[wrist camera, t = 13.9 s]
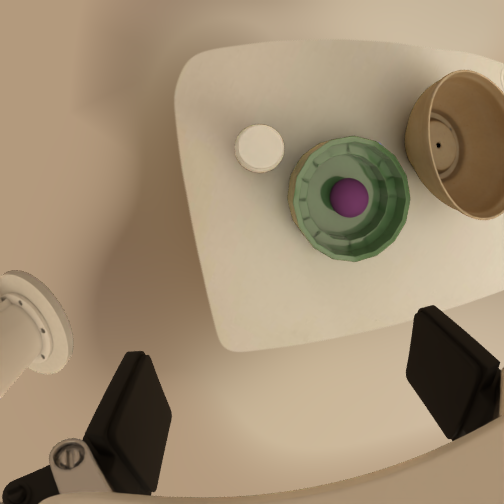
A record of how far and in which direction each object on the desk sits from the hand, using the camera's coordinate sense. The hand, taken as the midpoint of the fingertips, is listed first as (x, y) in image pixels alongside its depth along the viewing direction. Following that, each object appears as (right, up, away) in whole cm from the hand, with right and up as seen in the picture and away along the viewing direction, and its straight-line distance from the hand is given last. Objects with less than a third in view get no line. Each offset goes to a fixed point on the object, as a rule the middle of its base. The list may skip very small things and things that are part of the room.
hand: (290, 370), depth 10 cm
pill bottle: (-1, +15, +24) cm, 28 cm away
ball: (+9, +10, +22) cm, 26 cm away
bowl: (+9, +11, +25) cm, 29 cm away
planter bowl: (+22, +18, +23) cm, 37 cm away
